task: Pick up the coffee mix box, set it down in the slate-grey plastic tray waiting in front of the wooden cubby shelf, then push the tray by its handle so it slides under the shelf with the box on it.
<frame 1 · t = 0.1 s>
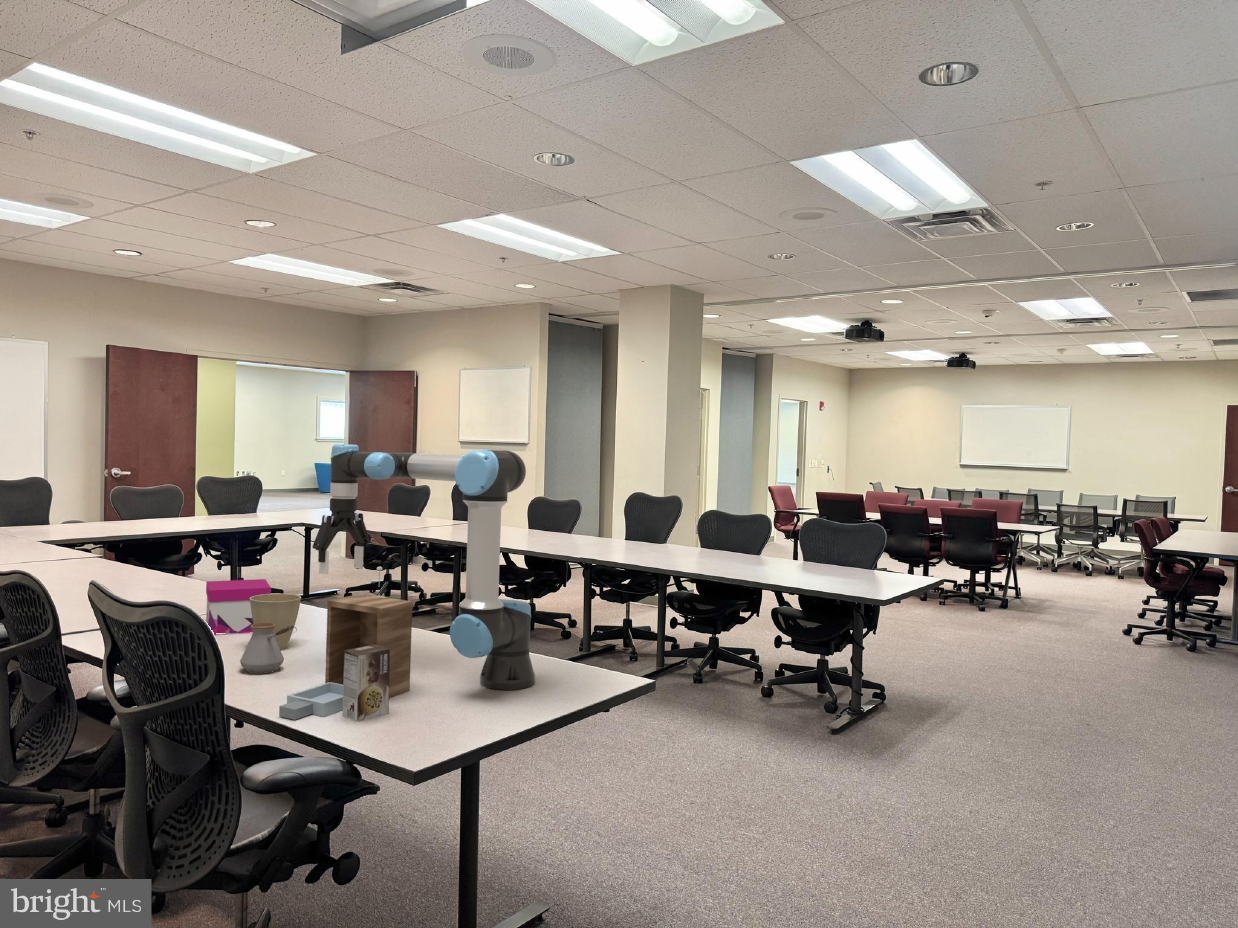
hand: (341, 571, 245), 28 cm above the table, tool pointing down, fingers open, 13 cm apart
tray: (318, 701, 208), point 2 cm above the table, slide at 0.0 cm
french press: (374, 642, 278), on the table
wooden cubby shelf: (367, 691, 224), on the table
plant pot: (274, 648, 266), on the table
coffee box: (365, 716, 204), on the table
coffee pot: (271, 674, 237), on the table
decorative box: (237, 628, 291), on the table
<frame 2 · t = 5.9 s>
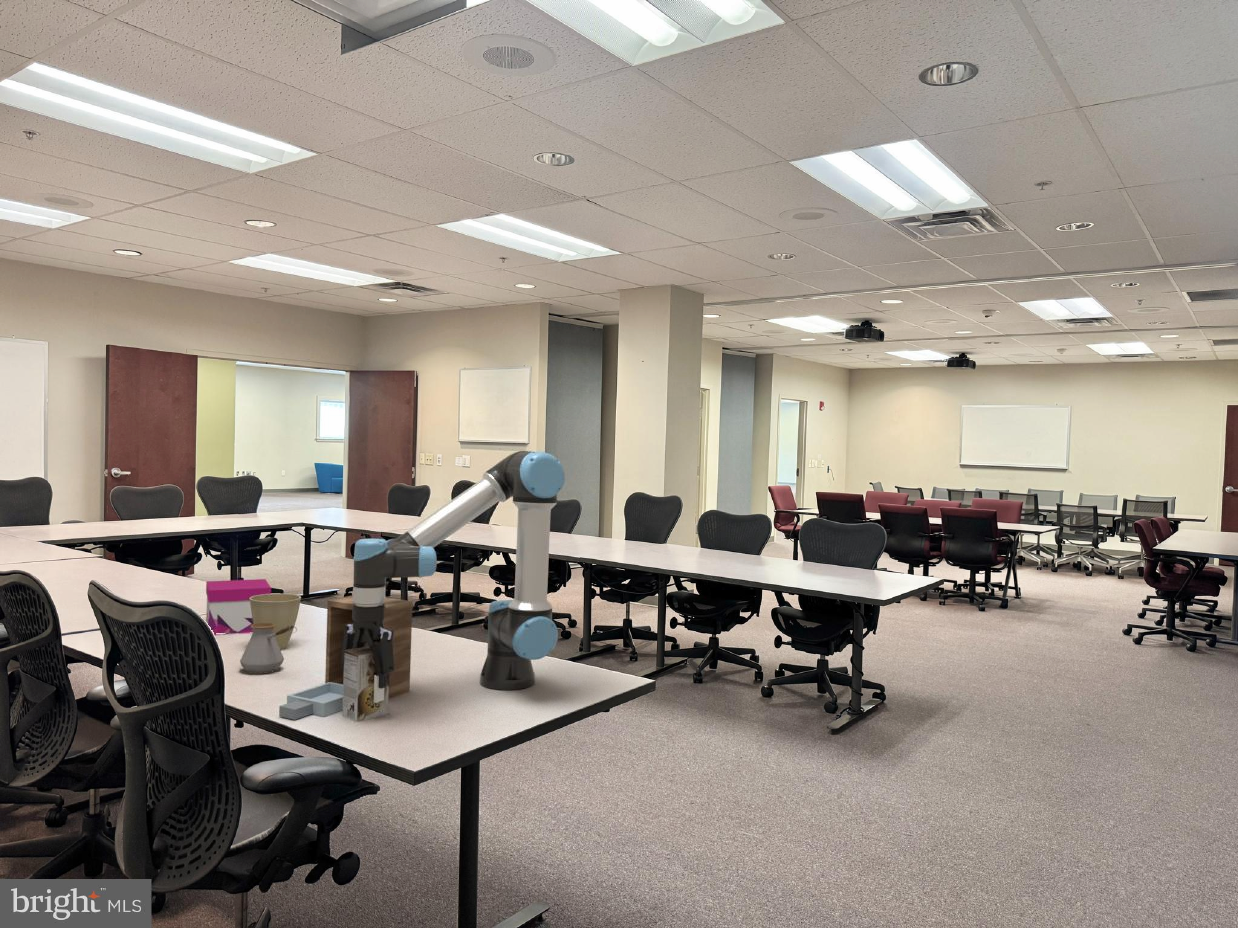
hand: (366, 698, 204), 4 cm above the table, tool pointing down, fingers closed on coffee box, 7 cm apart
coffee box: (365, 716, 204), on the table, touching gripper
everything else where it was.
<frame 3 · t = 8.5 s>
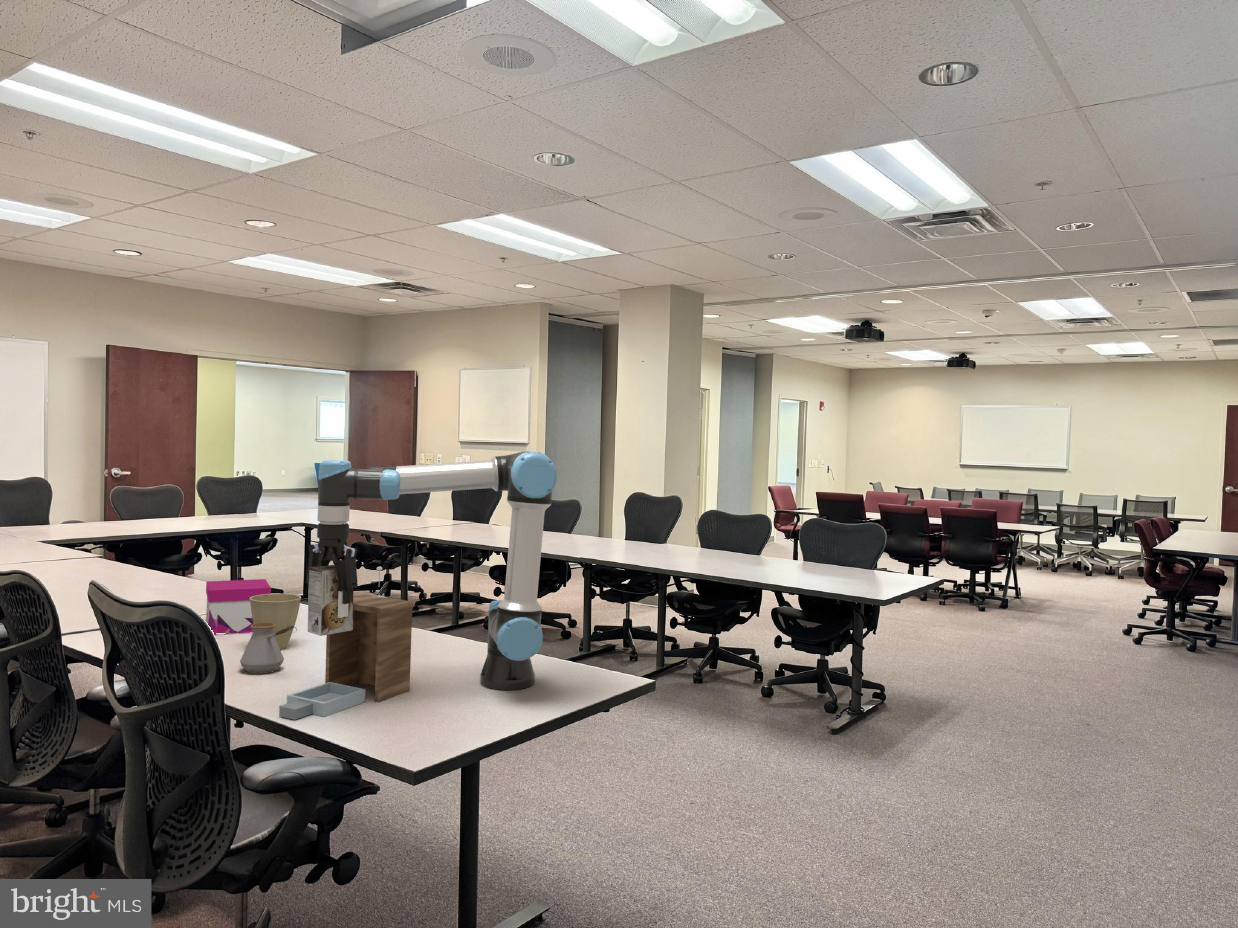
hand: (330, 614, 210), 23 cm above the table, tool pointing down, fingers closed on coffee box, 7 cm apart
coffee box: (330, 632, 211), point 18 cm above the table, touching gripper
everything else where it was.
when the fingers open (7 cm above the table, at t = 11.2 s): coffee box drops 1 cm, resting on tray.
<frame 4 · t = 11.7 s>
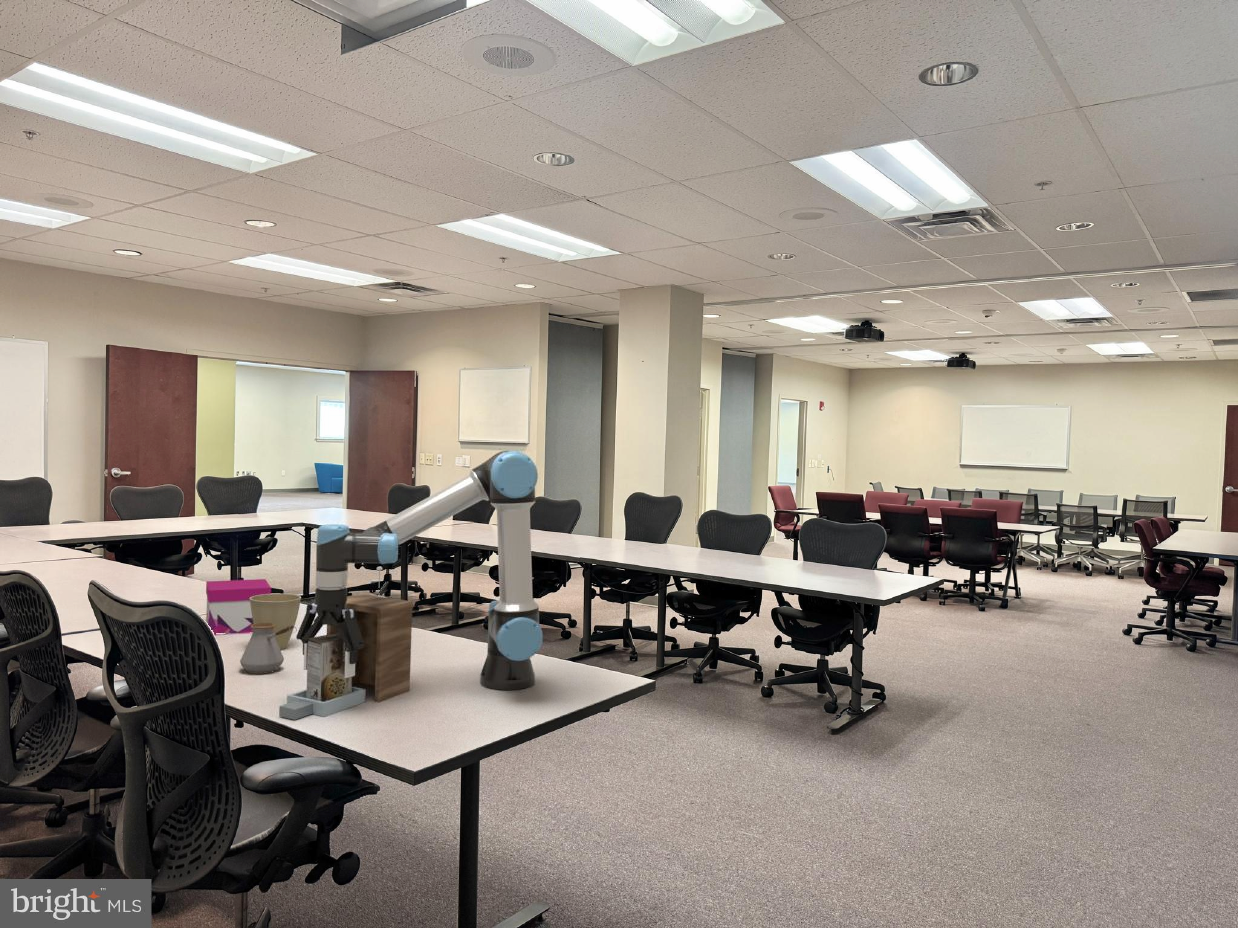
hand: (329, 672, 211), 8 cm above the table, tool pointing down, fingers open, 13 cm apart
tray: (318, 701, 208), point 2 cm above the table, slide at 0.0 cm, touching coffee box
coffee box: (328, 702, 211), point 1 cm above the table, touching tray
everything else where it was.
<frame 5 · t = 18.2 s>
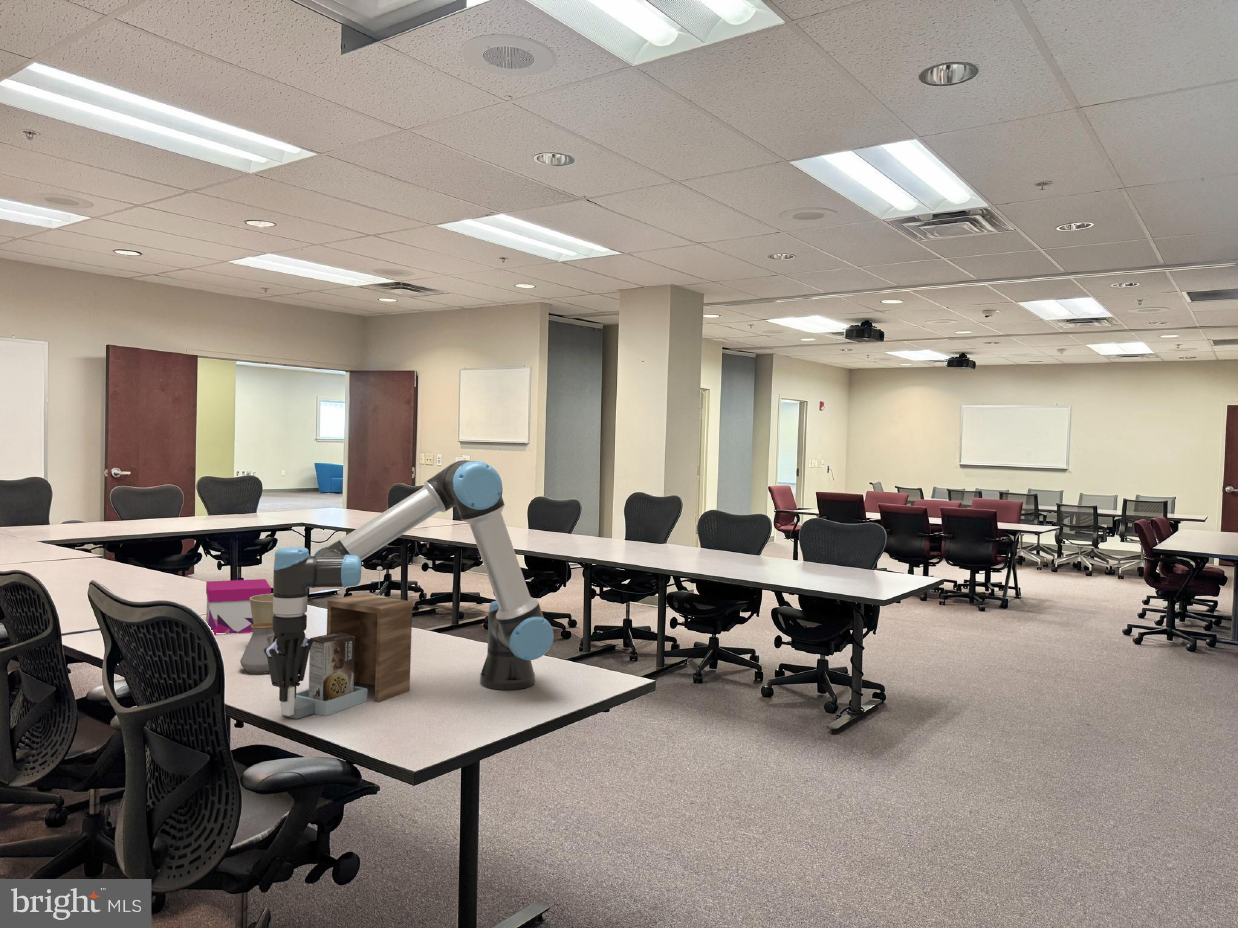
hand: (287, 713, 199), 1 cm above the table, tool pointing down, fingers closed
tray: (320, 700, 209), point 2 cm above the table, slide at 0.7 cm, touching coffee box, gripper
everything else where it was.
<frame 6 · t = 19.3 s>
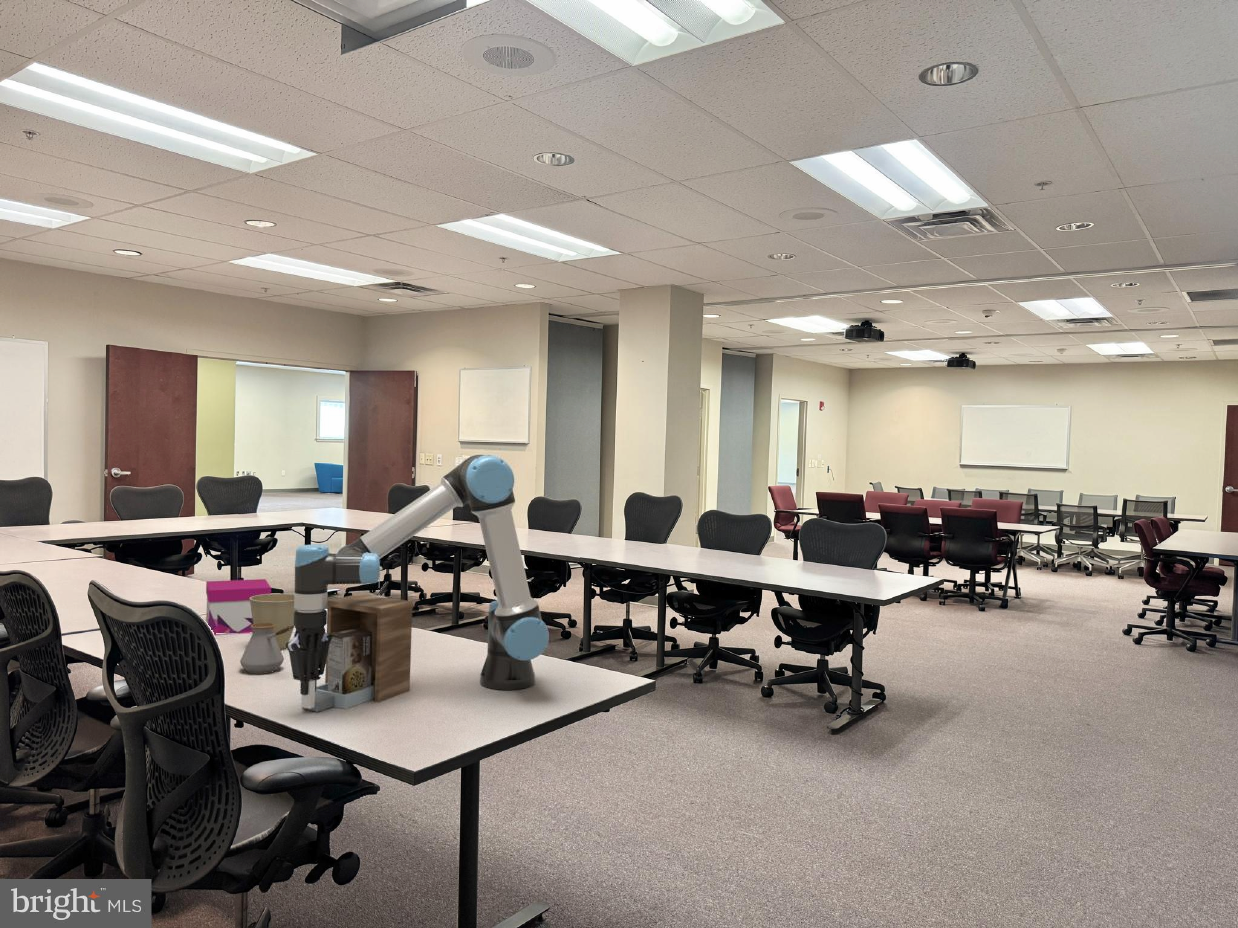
hand: (308, 706, 205), 1 cm above the table, tool pointing down, fingers closed
tray: (339, 694, 214), point 2 cm above the table, slide at 7.0 cm, touching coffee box, gripper
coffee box: (349, 695, 217), point 1 cm above the table, touching tray
everything else where it was.
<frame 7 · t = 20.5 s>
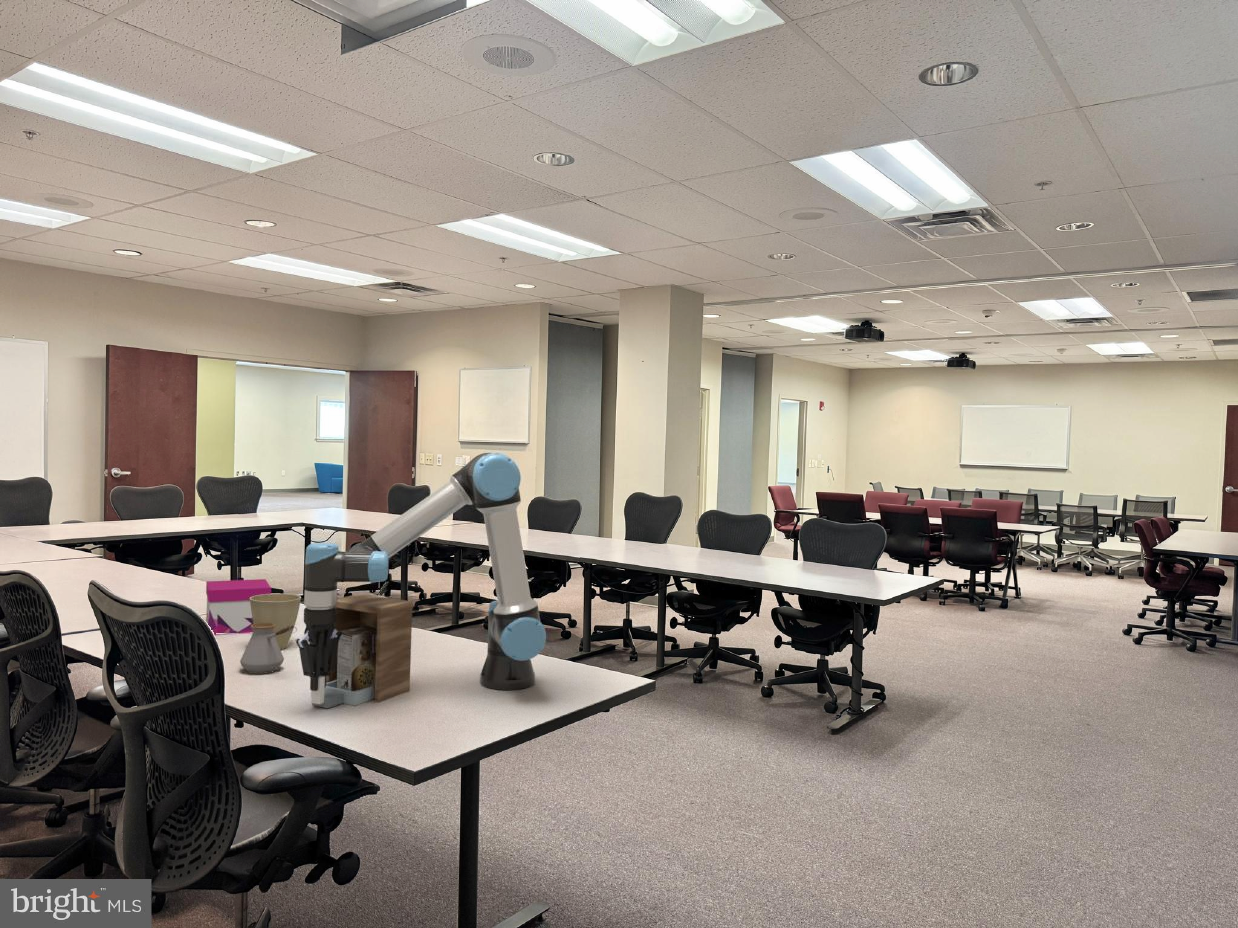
hand: (317, 702, 208), 2 cm above the table, tool pointing down, fingers closed
tray: (348, 691, 217), point 2 cm above the table, slide at 10.2 cm, touching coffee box
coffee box: (358, 692, 220), point 1 cm above the table, touching tray
everything else where it was.
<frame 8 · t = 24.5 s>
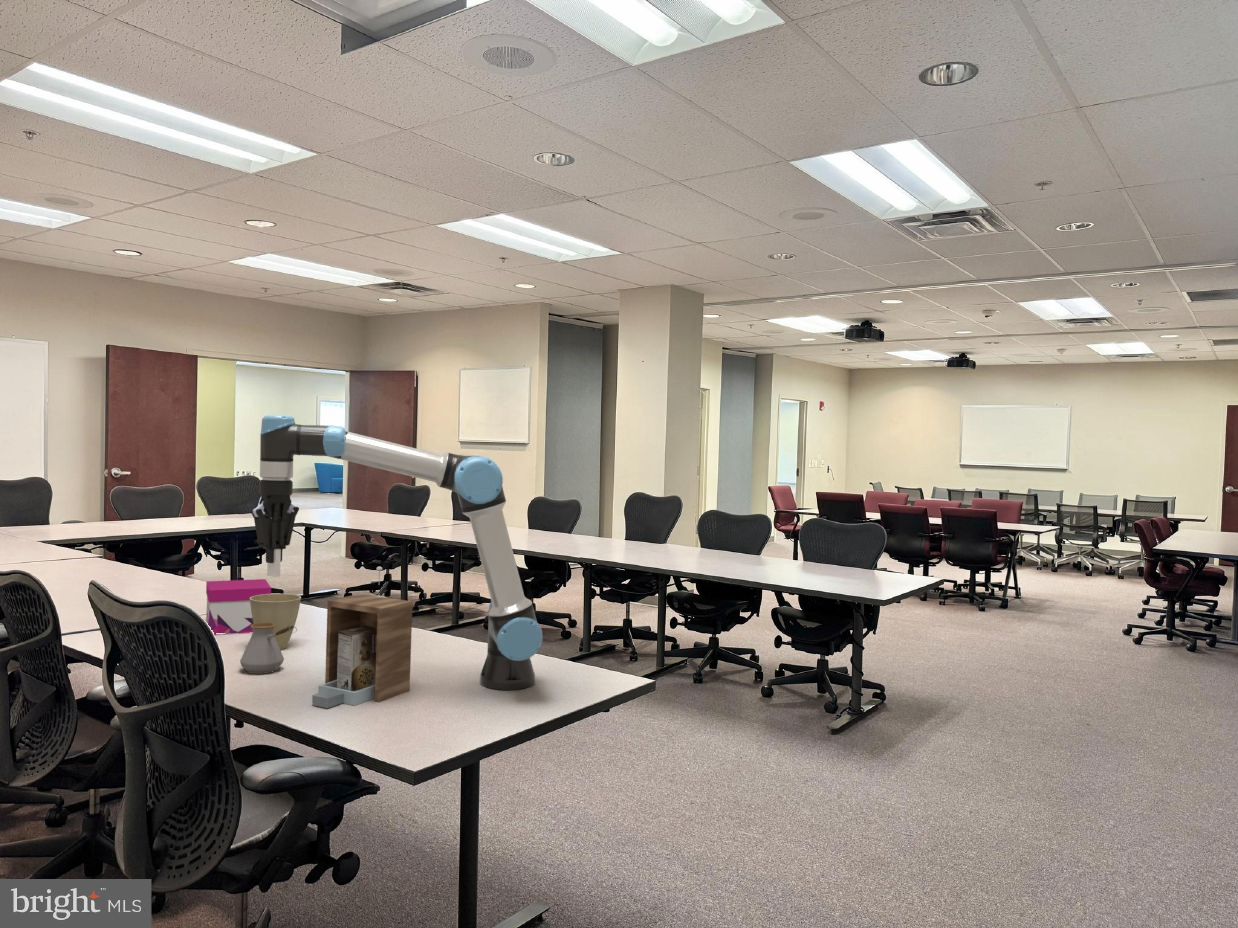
hand: (273, 575, 207), 32 cm above the table, tool pointing down, fingers closed
nothing on the table moved.
at the end: tray slide at 10.2 cm; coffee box inside the target area on the tray (0.3 cm from its centre), point 0.6 cm above the tray's base; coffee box tilted 0° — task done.
